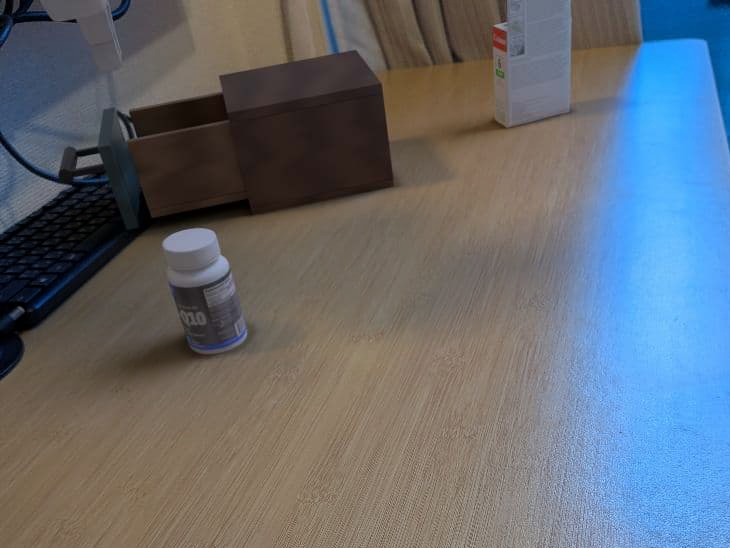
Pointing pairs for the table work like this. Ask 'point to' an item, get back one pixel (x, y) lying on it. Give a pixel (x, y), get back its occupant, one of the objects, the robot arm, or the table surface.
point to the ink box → (532, 61)
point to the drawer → (166, 158)
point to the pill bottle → (204, 291)
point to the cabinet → (308, 130)
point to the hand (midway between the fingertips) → (111, 66)
